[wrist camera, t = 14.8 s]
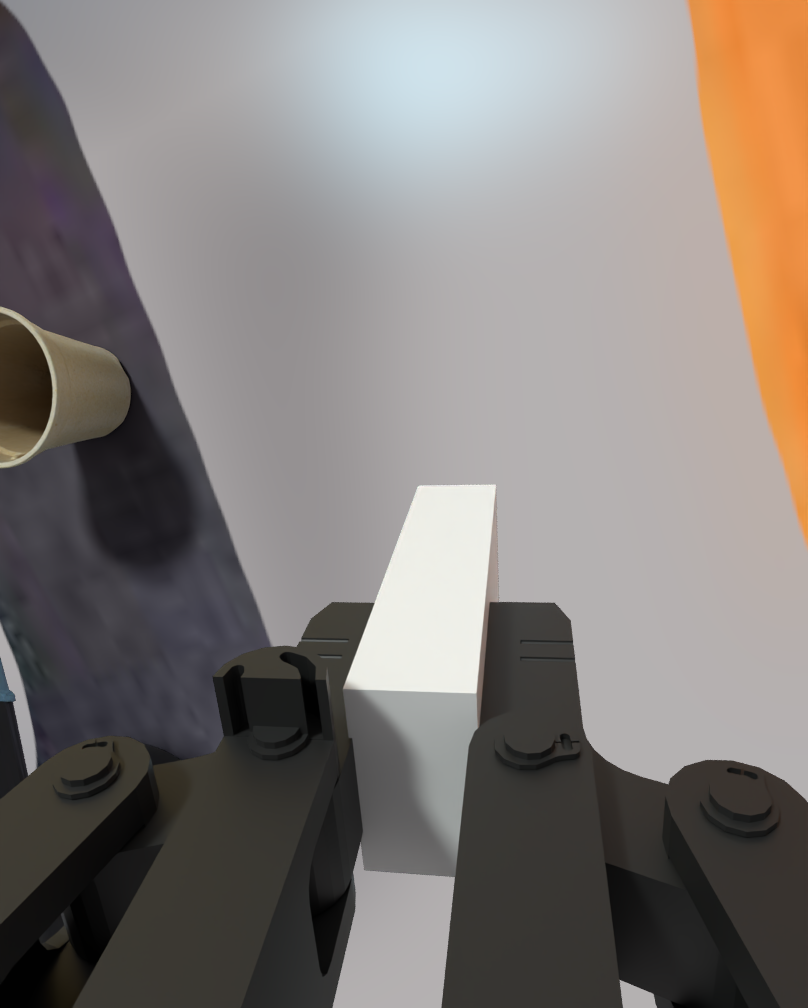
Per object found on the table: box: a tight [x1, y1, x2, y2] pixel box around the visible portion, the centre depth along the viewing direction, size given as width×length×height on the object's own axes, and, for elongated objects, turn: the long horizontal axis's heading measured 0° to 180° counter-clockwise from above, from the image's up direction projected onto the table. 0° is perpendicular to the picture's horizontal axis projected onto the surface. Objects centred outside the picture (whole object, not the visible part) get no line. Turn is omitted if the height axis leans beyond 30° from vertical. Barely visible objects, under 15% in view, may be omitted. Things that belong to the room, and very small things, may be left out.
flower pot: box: [0, 307, 131, 468], centre depth 47 cm, size 9×9×9 cm
